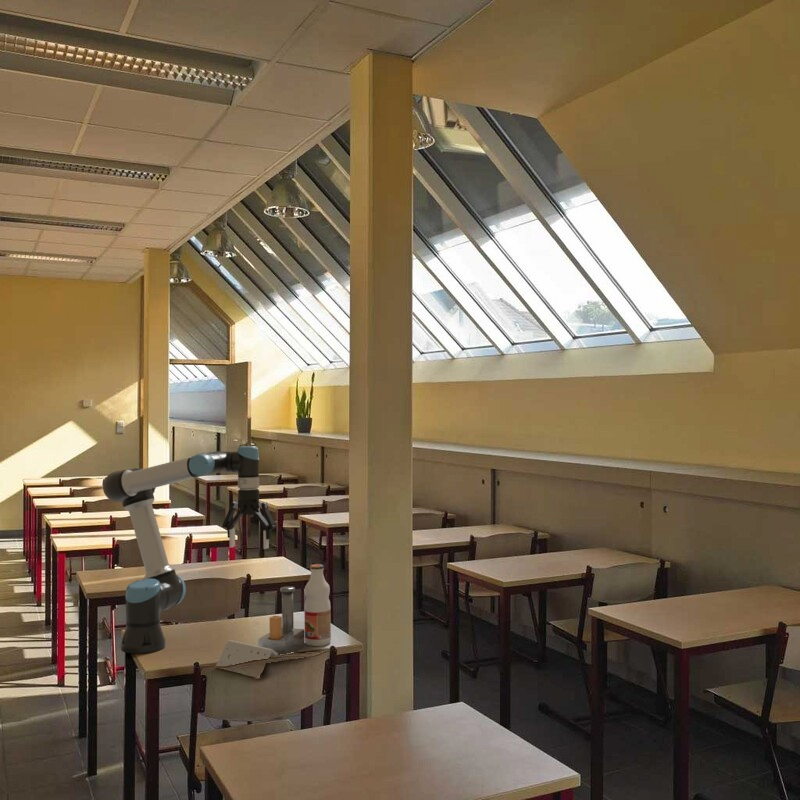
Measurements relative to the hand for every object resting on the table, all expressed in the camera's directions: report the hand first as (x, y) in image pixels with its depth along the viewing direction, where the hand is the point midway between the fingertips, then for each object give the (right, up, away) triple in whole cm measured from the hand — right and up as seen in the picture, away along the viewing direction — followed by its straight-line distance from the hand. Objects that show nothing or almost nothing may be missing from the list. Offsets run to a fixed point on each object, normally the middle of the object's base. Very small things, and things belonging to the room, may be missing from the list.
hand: (249, 547), depth 297 cm
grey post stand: (+13, -34, -10) cm, 38 cm away
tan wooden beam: (+12, -34, -14) cm, 39 cm away
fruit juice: (+25, -35, 0) cm, 43 cm away
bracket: (+7, -35, -27) cm, 45 cm away
